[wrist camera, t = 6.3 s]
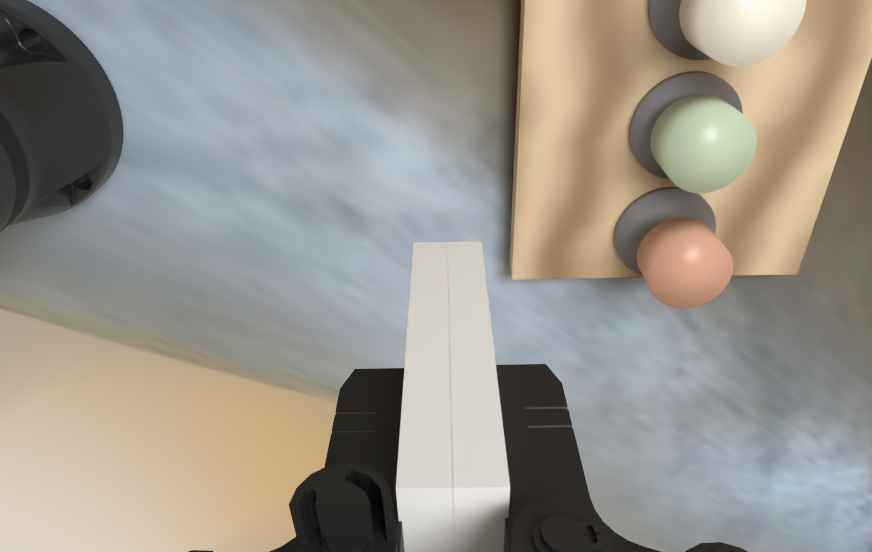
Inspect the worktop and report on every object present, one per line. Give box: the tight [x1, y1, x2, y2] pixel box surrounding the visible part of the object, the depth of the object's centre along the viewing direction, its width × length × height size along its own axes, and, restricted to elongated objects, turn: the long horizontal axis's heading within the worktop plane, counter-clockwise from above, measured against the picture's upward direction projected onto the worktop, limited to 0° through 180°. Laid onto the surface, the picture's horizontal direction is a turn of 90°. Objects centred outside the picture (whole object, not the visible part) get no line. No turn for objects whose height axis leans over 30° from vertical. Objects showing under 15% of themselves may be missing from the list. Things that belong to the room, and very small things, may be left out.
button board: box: [509, 0, 872, 280], centre depth 42 cm, size 22×24×3 cm
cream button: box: [679, 0, 806, 67], centre depth 33 cm, size 5×5×3 cm
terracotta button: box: [637, 217, 733, 308], centre depth 41 cm, size 5×5×3 cm
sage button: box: [650, 93, 757, 193], centre depth 38 cm, size 5×5×3 cm
